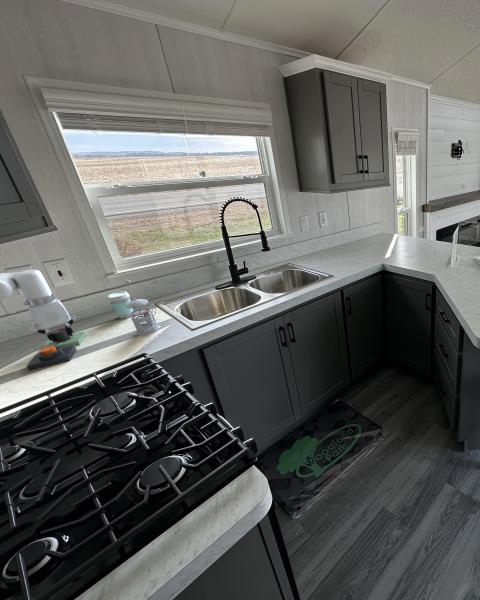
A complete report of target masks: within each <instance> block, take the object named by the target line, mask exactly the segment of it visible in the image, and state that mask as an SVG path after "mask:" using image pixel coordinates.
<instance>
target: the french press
mask: <svg viewBox="0 0 480 600" xmlns="http://www.w3.org/2000/svg"><path fill="white" fill-rule="evenodd" d="M131 282H132V281H131V280H130V279H126V280H125V281H124V283H125V284H128V286H129V289H130V291H131V293H132V296H133V298H134V300H130V301H131V302H129V303H128V304H127V305H126V307H127V308H129V309H130V308H132V309H135V310H133V312H132V313H131V315H132V316H131V317H130V318H131V320H132V324H133V325H134V328H135V330H136V331H135V333H134V335H135V334H136V335H135V336H137V335H139V336H138V337H142V336H141V335H144V336H148V334H149V335H151V333H152V334H154V333H156V332H158V331H159V330H160V329H161V328H160V327H161V326H160V325H159V324H158V323H157V320H156V319H155V316H156V313H157V308H156V306H155V304H154V303H153V302H150V301H149V300H148V299H142V298H139V299H136V297H135V295H134V292H133V290H132V288H131V284H130V283H131ZM144 306H146V307H144ZM147 306H148V307H149V306H150V307H151V309H150V308H148V307H147ZM141 307H143V308H141ZM151 310H152V311H151ZM154 310H155V312H154ZM153 313H154V314H153ZM159 328H160V329H159ZM158 329H159V330H158ZM157 330H158V331H157ZM155 331H156V332H155Z"/></svg>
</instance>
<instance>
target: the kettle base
mask: <svg viewBox="0 0 480 600" xmlns="http://www.w3.org/2000/svg"><path fill="white" fill-rule="evenodd" d="M76 347H77V346H71V347H67V348H61V347H55V348H56V350H57V351H55V352H53V353H51V354H47V355H43V354H42V353H41V351H39V352H38V353H36V354H35V355H34V356H33V357H32V358H31V359H30V361H29V362H28V363H27V364H26V368H27V369H28V371H33V370H37V369H41V368H47V367H50V366H51V367H52V366H55V365H58V364H63V363H67V362H71V361H72V359H73V357H74V355H75V354H76V352H77V350H78V349H77V348H76Z"/></svg>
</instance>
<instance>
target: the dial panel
mask: <svg viewBox="0 0 480 600" xmlns="http://www.w3.org/2000/svg"><path fill="white" fill-rule="evenodd" d="M72 334H73V336H70V337H71V338H70V339H69V340H67V341H64V342H59V343H57V342H53V341H52V340H51V341H50V340H49V339H47V340H46V342H45V343H44V344H43V345H42V347H41V348H40V351H41V350H42V349H44V348H46V347H49V346H55V347H61V348H67V347H71V346H75V347H77V346H81V344H82V342H83V341H84V339H85V338H86V336H87V333H86V331H85V330H84V331H77V332H73V333H72Z"/></svg>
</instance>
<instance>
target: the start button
mask: <svg viewBox="0 0 480 600" xmlns="http://www.w3.org/2000/svg"><path fill="white" fill-rule="evenodd" d="M55 351H57V350H56V348H55V346H49V347H46V348H44V349H42V350H41V349H40V352H41V353H42V354H43V355H47V354H51V353H53V352H55Z"/></svg>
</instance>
